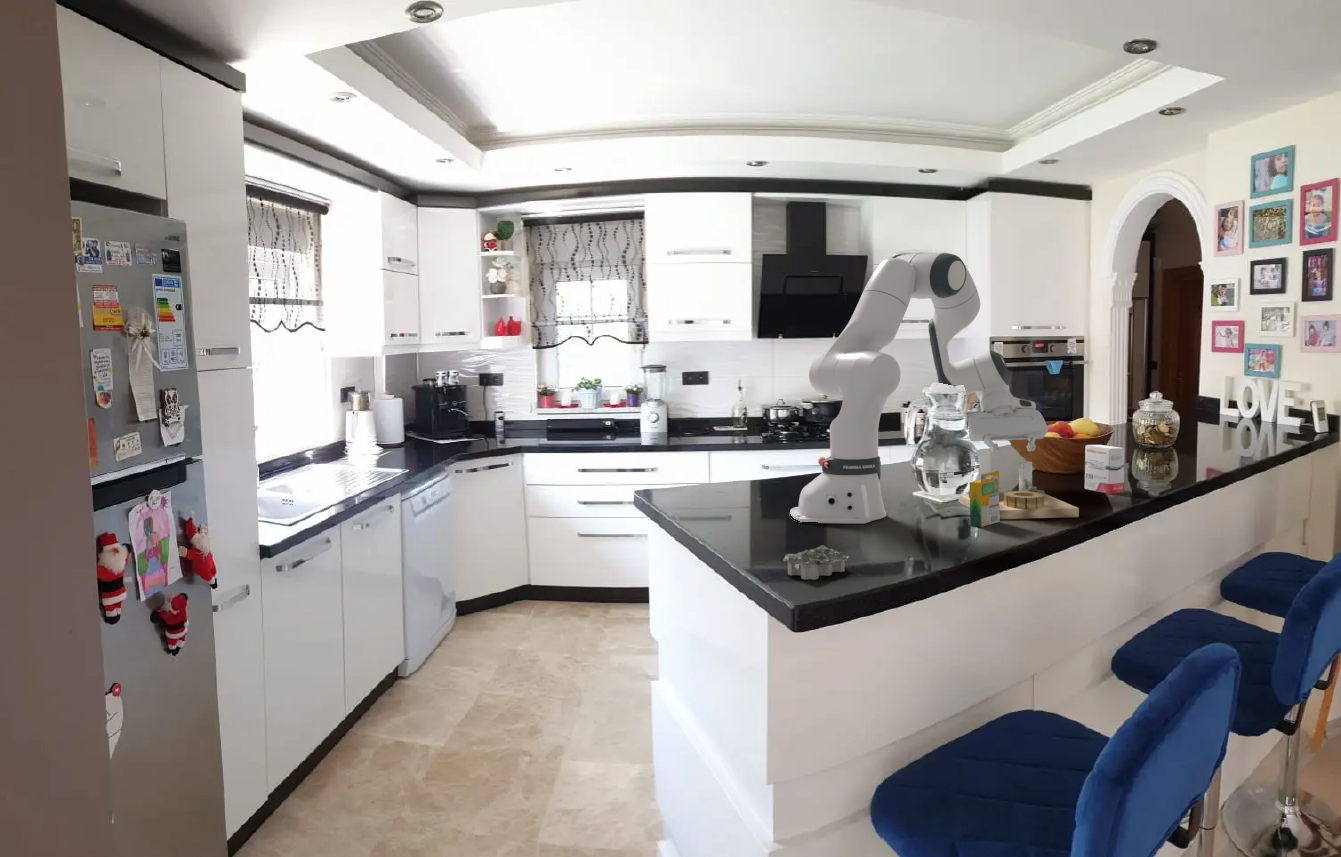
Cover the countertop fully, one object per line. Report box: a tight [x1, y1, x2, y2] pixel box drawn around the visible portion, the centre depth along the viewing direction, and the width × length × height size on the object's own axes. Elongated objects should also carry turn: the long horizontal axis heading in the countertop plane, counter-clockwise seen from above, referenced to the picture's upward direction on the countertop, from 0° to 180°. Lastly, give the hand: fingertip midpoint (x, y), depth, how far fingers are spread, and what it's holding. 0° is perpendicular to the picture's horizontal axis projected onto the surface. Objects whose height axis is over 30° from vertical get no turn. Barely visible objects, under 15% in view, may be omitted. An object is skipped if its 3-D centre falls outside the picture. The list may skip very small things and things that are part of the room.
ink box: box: [1084, 444, 1125, 495], centre depth 195 cm, size 8×5×12 cm, turn 13°
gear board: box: [958, 485, 1080, 520], centre depth 178 cm, size 20×20×4 cm
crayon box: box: [968, 470, 1001, 528], centre depth 165 cm, size 7×3×12 cm, turn 126°
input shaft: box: [1018, 460, 1033, 491], centre depth 191 cm, size 3×3×9 cm
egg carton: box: [782, 544, 850, 581], centre depth 135 cm, size 11×8×4 cm
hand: (1013, 450), depth 198 cm, fingers open, 8 cm apart
